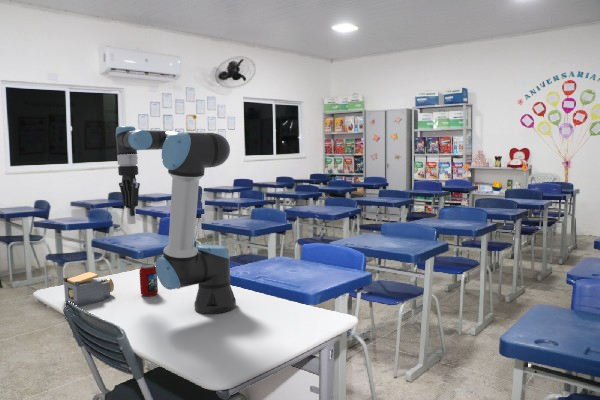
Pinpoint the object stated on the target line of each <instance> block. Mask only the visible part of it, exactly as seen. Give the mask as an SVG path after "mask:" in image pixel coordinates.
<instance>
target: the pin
mask: <svg viewBox="0 0 600 400" xmlns="http://www.w3.org/2000/svg"><path fill="white" fill-rule="evenodd" d="M102 280H103V283H104V282H109V283H110V293H113V291H114V288H115V286H114V282H113V280H112V278H110V277H109V278H104V279H102ZM69 296H70V298H73V289H72V290H69Z"/></svg>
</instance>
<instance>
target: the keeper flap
mask: <svg viewBox="0 0 600 400" xmlns="http://www.w3.org/2000/svg"><path fill="white" fill-rule="evenodd" d="M98 277H99V274H97V273H94V272H91V271H88V272H84V273H82V274H79V275H76V276H73V277H70V278H69V277H68V279H67V281H68V282H71V283H73V284H74V282H75V281H79V283H82V282H85V281H87V280H90V279H93V278H96V279H97V278H98Z"/></svg>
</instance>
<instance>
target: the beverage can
mask: <svg viewBox="0 0 600 400" xmlns="http://www.w3.org/2000/svg"><path fill="white" fill-rule="evenodd" d="M158 284H159V283H158V276H157V272H156V264H152V263H151V264H150V263H149V264H147V263H146V264H143V265H141V266H140V268H139V287H140V295H142V296H143V297H154V296H155V295H156V294H158V293H159V289H158V287H159V285H158Z"/></svg>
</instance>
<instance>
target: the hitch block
mask: <svg viewBox="0 0 600 400" xmlns="http://www.w3.org/2000/svg"><path fill="white" fill-rule="evenodd" d="M67 279H69V277H68V276H64V277H62V282H63V288H64V290H63V291H64V301H65V302H67V301H70V302H72V303H74V304H75V305H77V306H79V307H83V306H87V305H91V304H94V303H95V304H96V303H100V302H103V301H104V299H107V298H111V292H110V283H109V282H104V283H103V280H104V279H103V278H102V279H98V278H97V277H96V278H93V279H90V280H87V281H85V282H82V283H79V281H75V282H74V284H73V283H71V282H68V281H67ZM72 289H73V298H70V296H69V290H72ZM75 305H74V306H75ZM77 306H76V307H77Z"/></svg>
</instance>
